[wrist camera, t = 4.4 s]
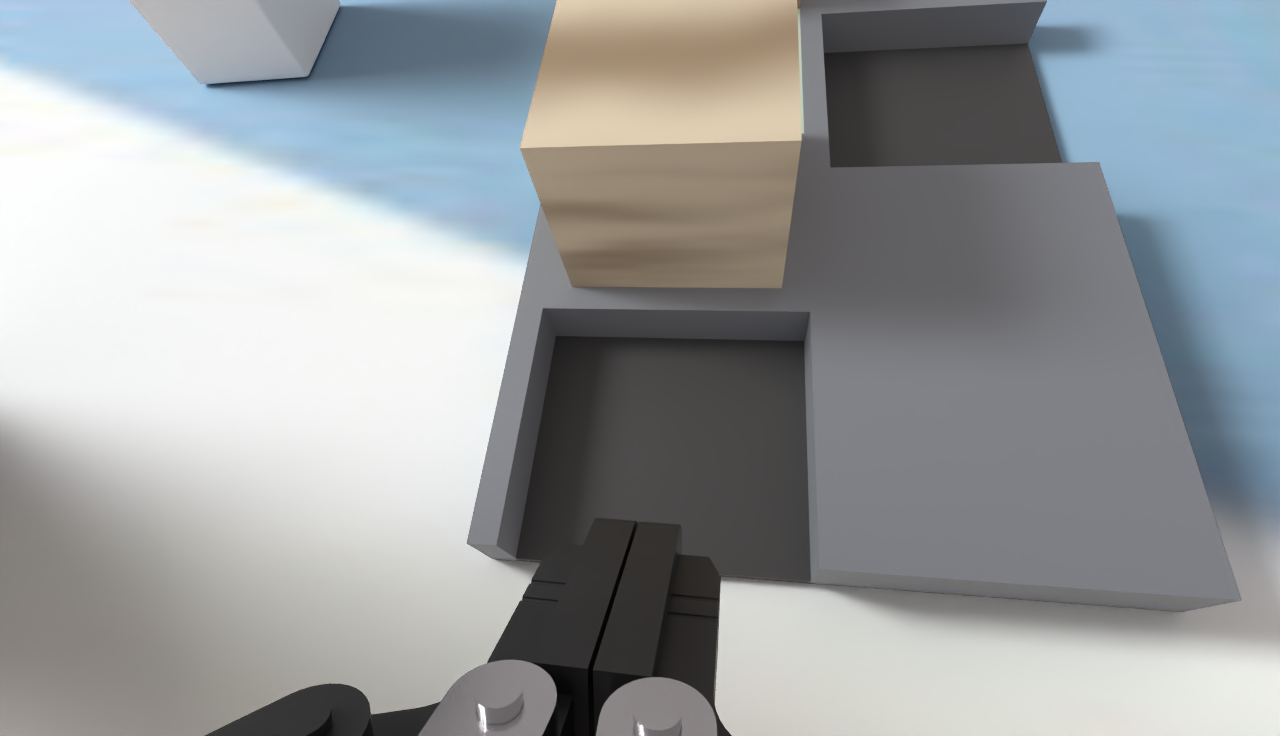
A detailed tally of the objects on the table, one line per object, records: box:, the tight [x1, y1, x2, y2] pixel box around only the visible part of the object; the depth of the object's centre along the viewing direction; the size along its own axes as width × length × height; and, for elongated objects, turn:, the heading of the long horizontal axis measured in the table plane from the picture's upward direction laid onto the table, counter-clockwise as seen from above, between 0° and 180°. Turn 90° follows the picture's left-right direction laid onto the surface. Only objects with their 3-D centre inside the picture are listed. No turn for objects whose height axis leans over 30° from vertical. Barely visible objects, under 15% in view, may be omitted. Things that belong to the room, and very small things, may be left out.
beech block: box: [520, 0, 802, 288], centre depth 23 cm, size 8×8×7 cm
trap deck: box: [467, 0, 1241, 612], centre depth 24 cm, size 28×22×6 cm
